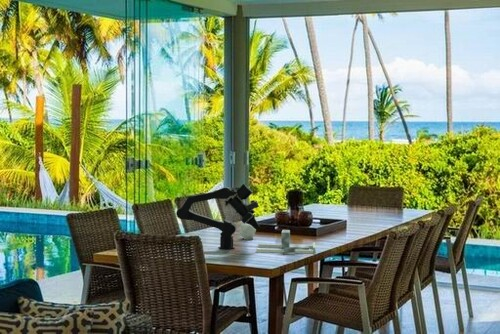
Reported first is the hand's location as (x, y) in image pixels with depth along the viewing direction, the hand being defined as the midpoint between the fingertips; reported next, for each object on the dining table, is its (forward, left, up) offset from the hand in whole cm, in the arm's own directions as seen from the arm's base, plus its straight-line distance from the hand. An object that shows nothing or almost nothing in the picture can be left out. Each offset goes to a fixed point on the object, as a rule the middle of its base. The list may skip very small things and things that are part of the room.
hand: (259, 227), depth 454 cm
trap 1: (+1, -20, -11) cm, 23 cm away
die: (+23, +31, -11) cm, 40 cm away
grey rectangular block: (+12, -14, -11) cm, 22 cm away
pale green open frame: (+9, -11, -11) cm, 18 cm away
